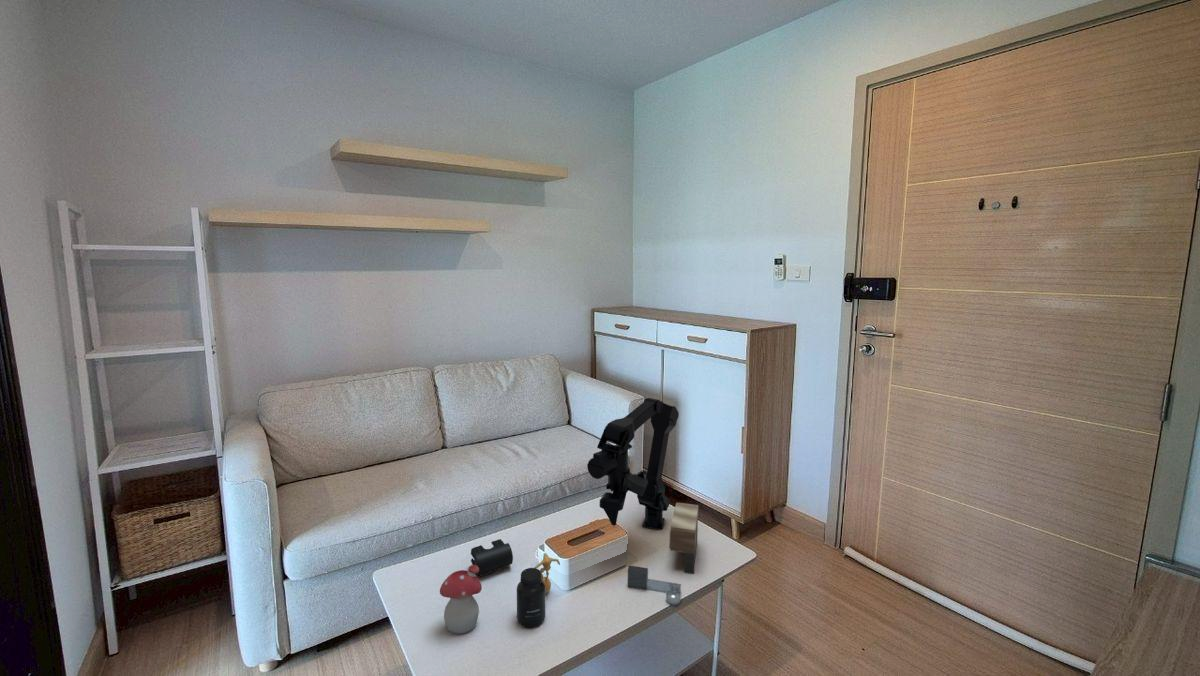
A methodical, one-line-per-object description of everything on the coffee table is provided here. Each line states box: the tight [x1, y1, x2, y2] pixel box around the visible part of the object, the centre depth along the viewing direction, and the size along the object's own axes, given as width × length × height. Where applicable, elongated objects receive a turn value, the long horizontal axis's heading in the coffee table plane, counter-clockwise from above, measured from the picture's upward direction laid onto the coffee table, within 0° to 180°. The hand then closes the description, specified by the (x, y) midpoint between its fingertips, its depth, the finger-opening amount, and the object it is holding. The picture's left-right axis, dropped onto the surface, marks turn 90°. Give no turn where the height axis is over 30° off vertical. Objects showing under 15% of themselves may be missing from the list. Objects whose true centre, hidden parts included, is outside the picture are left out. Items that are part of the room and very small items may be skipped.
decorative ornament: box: [439, 564, 483, 634], centre depth 117 cm, size 9×7×15 cm
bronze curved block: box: [668, 502, 699, 575], centre depth 144 cm, size 14×7×13 cm, turn 165°
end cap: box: [470, 538, 514, 578], centre depth 139 cm, size 10×7×7 cm
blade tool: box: [627, 564, 682, 594], centre depth 131 cm, size 2×14×5 cm, turn 75°
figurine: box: [533, 552, 561, 594], centre depth 128 cm, size 8×6×12 cm
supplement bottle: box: [516, 567, 546, 629], centre depth 119 cm, size 7×7×12 cm
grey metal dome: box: [665, 590, 682, 607], centre depth 126 cm, size 4×4×2 cm
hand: (617, 516), depth 146 cm, fingers open, 9 cm apart
